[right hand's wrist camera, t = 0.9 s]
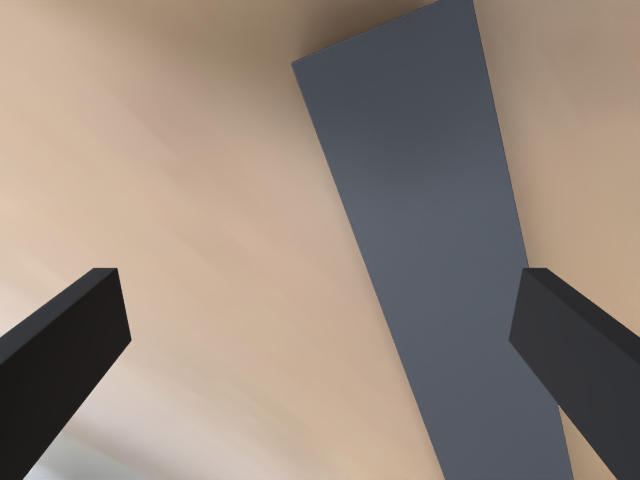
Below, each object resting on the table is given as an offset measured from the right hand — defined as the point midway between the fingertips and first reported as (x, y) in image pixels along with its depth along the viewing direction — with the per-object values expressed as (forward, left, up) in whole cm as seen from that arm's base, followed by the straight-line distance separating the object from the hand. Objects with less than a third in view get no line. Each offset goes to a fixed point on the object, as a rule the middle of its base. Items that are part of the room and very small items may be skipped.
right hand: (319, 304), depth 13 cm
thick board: (-9, +26, -17) cm, 33 cm away
